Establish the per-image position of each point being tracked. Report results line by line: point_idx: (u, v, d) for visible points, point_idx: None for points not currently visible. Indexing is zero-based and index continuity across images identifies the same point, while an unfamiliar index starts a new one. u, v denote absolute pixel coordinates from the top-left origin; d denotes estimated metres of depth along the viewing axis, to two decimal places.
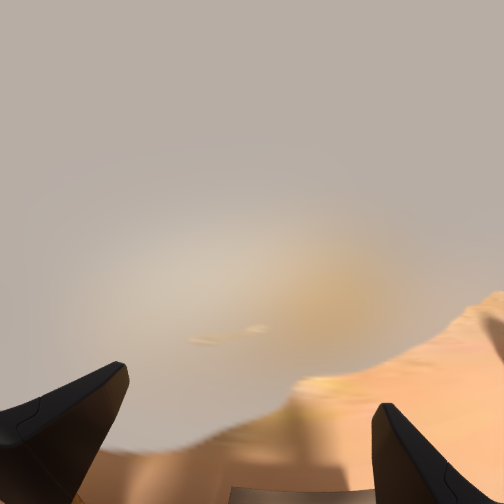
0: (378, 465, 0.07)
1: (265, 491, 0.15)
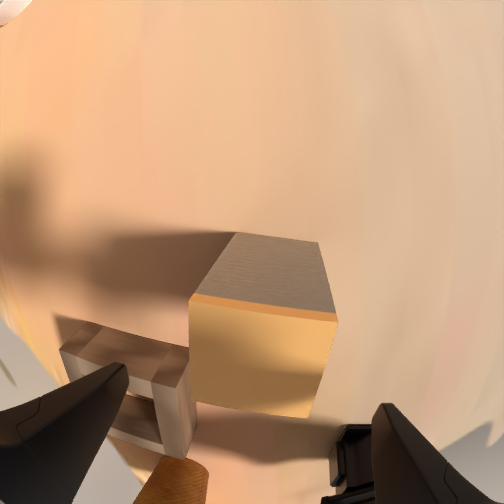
0: (378, 465, 0.07)
1: None
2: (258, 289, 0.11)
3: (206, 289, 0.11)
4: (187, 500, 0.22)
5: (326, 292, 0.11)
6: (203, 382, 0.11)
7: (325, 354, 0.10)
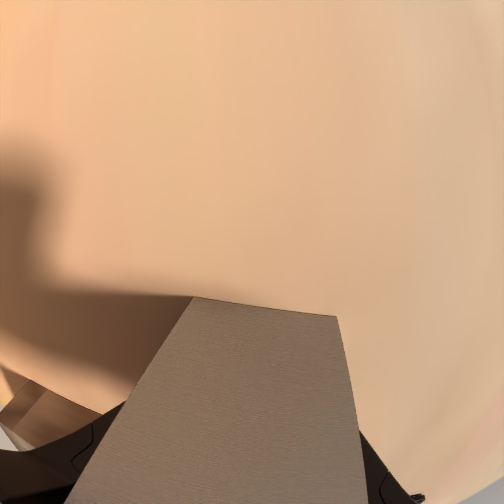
0: None
1: None
2: None
3: None
4: None
5: None
6: None
7: None
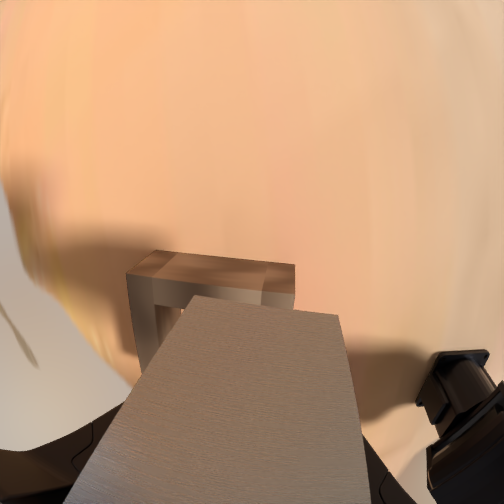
0: None
1: (142, 370, 0.19)
2: None
3: None
4: None
5: (361, 503, 0.03)
6: None
7: None
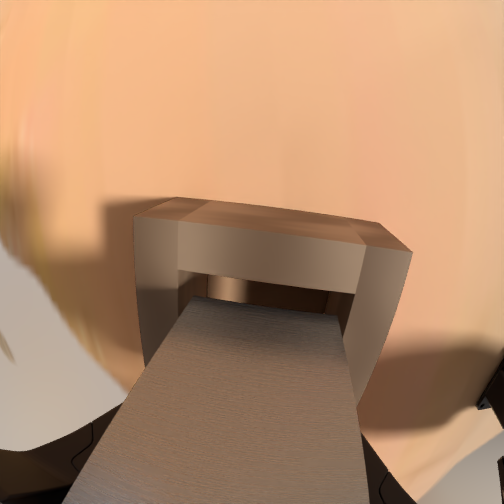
0: None
1: None
2: None
3: None
4: None
5: None
6: None
7: None
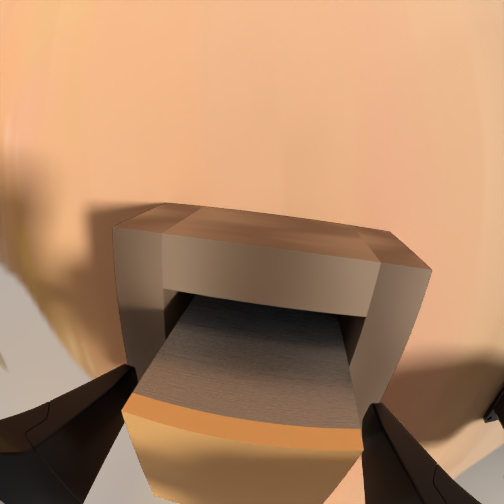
0: (368, 466, 0.07)
1: None
2: (236, 384, 0.06)
3: (153, 384, 0.06)
4: None
5: (344, 381, 0.07)
6: (165, 487, 0.06)
7: (337, 479, 0.05)
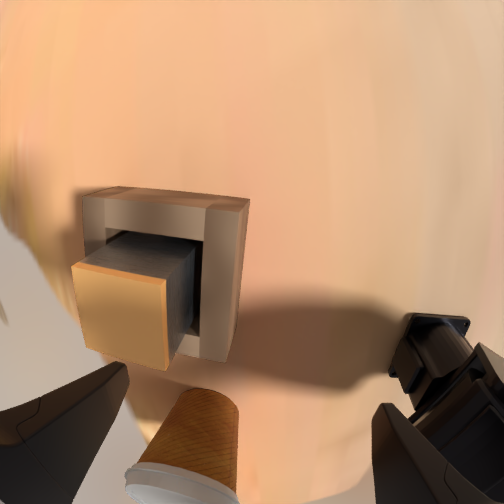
0: (378, 465, 0.07)
1: None
2: (122, 261, 0.14)
3: (87, 260, 0.13)
4: (218, 441, 0.20)
5: (174, 265, 0.14)
6: (89, 331, 0.14)
7: (158, 312, 0.13)
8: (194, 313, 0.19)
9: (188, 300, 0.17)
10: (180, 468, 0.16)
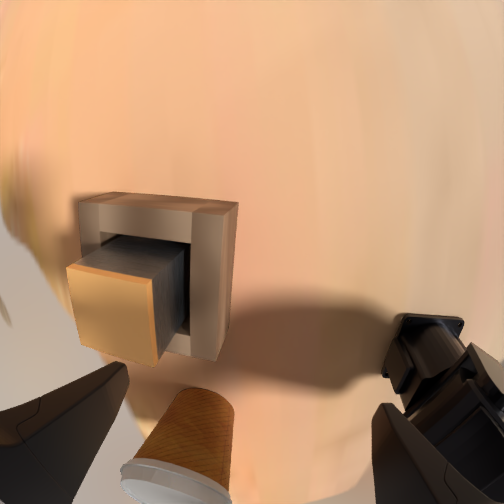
0: (378, 465, 0.07)
1: None
2: (113, 262, 0.15)
3: (81, 261, 0.14)
4: (211, 439, 0.21)
5: (161, 266, 0.15)
6: (84, 329, 0.14)
7: (145, 310, 0.13)
8: (185, 313, 0.19)
9: (178, 300, 0.18)
10: (172, 464, 0.16)
